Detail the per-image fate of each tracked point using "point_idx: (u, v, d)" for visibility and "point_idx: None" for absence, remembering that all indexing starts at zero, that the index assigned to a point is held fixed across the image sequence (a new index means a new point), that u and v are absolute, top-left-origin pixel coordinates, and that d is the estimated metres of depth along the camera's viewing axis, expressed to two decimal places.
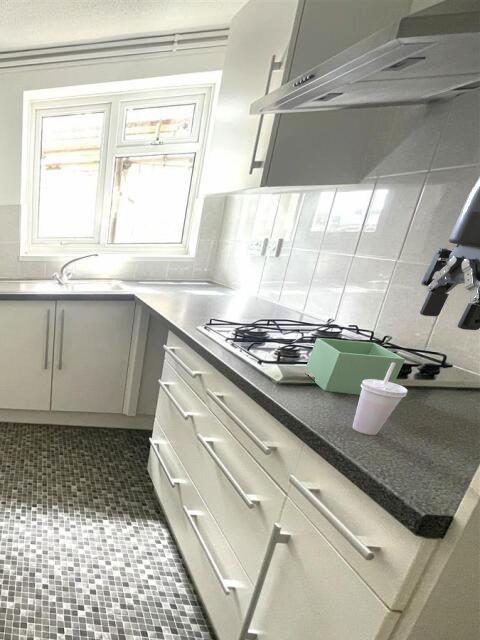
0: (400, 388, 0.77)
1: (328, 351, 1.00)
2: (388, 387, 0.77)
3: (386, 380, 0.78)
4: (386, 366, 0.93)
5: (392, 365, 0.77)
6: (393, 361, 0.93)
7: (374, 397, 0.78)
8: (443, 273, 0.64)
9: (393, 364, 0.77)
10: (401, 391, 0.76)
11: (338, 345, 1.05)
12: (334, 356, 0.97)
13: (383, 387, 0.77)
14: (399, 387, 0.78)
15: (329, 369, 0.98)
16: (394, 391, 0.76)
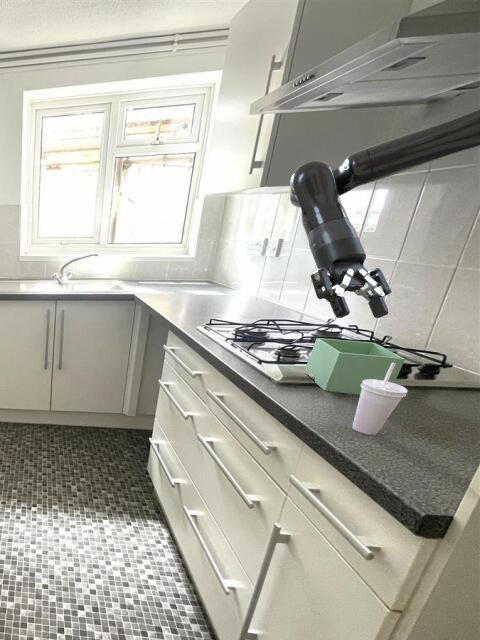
0: (400, 388, 0.77)
1: (328, 351, 1.00)
2: (388, 387, 0.77)
3: (386, 380, 0.78)
4: (386, 366, 0.93)
5: (392, 365, 0.77)
6: (393, 361, 0.93)
7: (374, 397, 0.78)
8: None
9: (393, 364, 0.77)
10: (401, 391, 0.76)
11: (338, 345, 1.05)
12: (334, 356, 0.97)
13: (383, 387, 0.77)
14: (399, 387, 0.78)
15: (329, 369, 0.98)
16: (394, 391, 0.76)
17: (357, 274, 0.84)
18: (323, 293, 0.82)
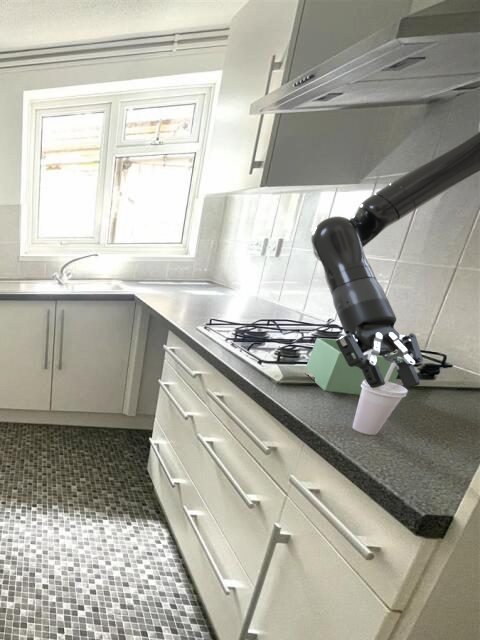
0: (400, 388, 0.77)
1: (328, 351, 1.00)
2: (388, 387, 0.77)
3: (386, 380, 0.78)
4: (386, 366, 0.93)
5: (392, 365, 0.77)
6: None
7: (374, 397, 0.77)
8: None
9: (393, 364, 0.77)
10: (401, 391, 0.76)
11: None
12: (334, 356, 0.97)
13: (383, 387, 0.77)
14: (399, 387, 0.78)
15: (329, 369, 0.98)
16: (394, 391, 0.76)
17: (386, 337, 0.79)
18: (354, 361, 0.78)
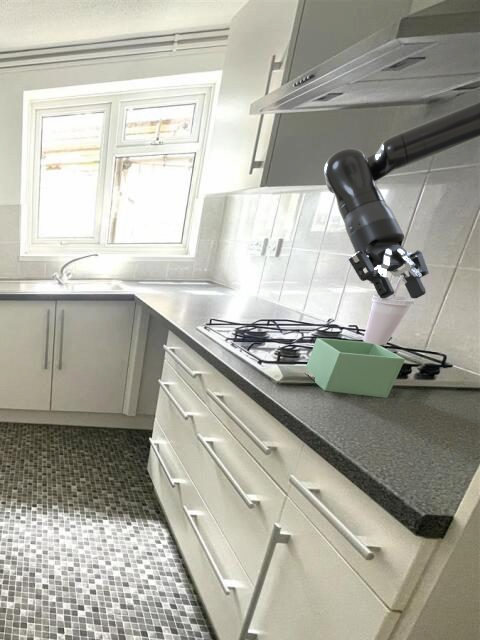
0: (408, 299, 0.84)
1: (328, 351, 1.00)
2: (397, 298, 0.84)
3: (395, 292, 0.85)
4: (386, 366, 0.93)
5: (400, 277, 0.84)
6: (393, 361, 0.93)
7: (384, 307, 0.85)
8: (390, 270, 0.88)
9: (401, 276, 0.84)
10: (409, 300, 0.83)
11: (338, 345, 1.05)
12: (334, 356, 0.97)
13: (392, 298, 0.84)
14: (407, 298, 0.85)
15: (329, 369, 0.98)
16: (402, 300, 0.83)
17: (395, 253, 0.86)
18: (366, 274, 0.85)
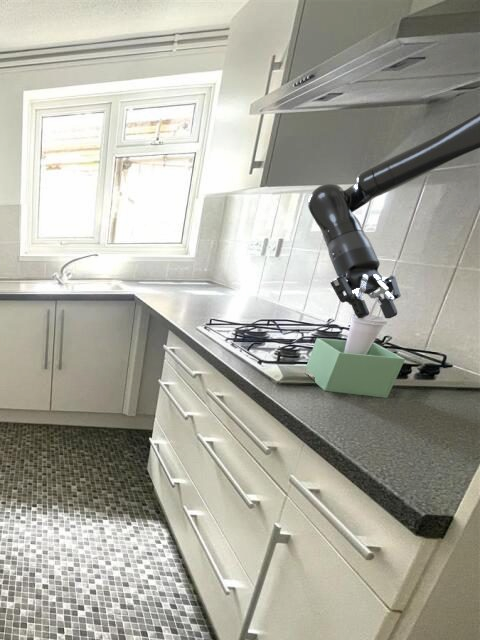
0: (382, 319, 0.95)
1: (328, 351, 1.00)
2: (372, 318, 0.95)
3: (371, 313, 0.96)
4: (386, 366, 0.93)
5: (375, 300, 0.95)
6: (393, 361, 0.93)
7: (361, 326, 0.95)
8: None
9: (376, 299, 0.95)
10: (382, 320, 0.94)
11: (338, 345, 1.05)
12: (334, 356, 0.97)
13: (368, 318, 0.95)
14: (381, 318, 0.96)
15: (329, 369, 0.98)
16: (377, 320, 0.94)
17: (371, 278, 0.96)
18: (345, 297, 0.95)
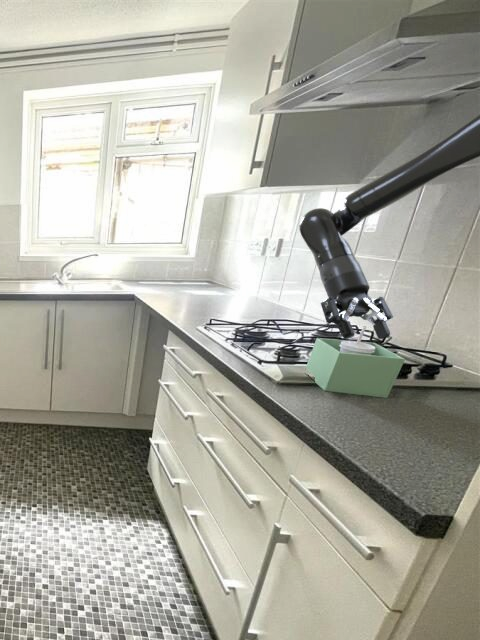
0: (370, 346, 0.98)
1: (328, 351, 1.00)
2: (360, 345, 0.98)
3: (359, 340, 0.99)
4: (386, 366, 0.93)
5: (363, 328, 0.97)
6: (393, 361, 0.93)
7: None
8: None
9: (364, 327, 0.97)
10: (370, 348, 0.97)
11: (338, 345, 1.05)
12: (334, 356, 0.97)
13: (356, 345, 0.98)
14: (369, 345, 0.98)
15: (329, 369, 0.98)
16: (365, 348, 0.97)
17: (361, 302, 0.99)
18: (331, 318, 0.98)
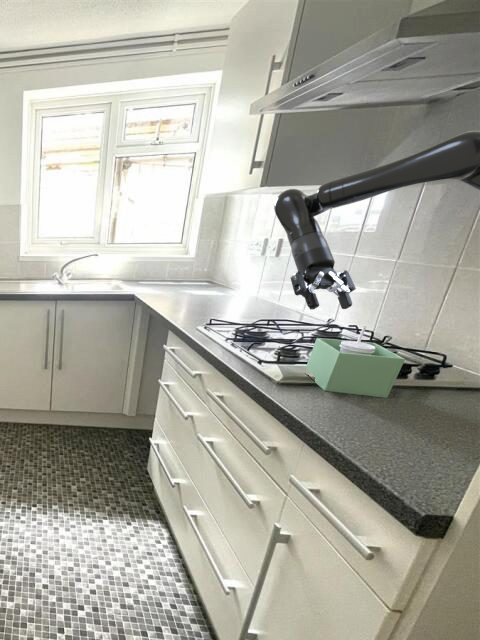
0: (370, 346, 0.98)
1: (328, 351, 1.00)
2: (360, 345, 0.98)
3: (359, 340, 0.99)
4: (386, 366, 0.93)
5: (363, 328, 0.97)
6: (393, 361, 0.93)
7: None
8: None
9: (364, 327, 0.97)
10: (370, 348, 0.97)
11: (338, 345, 1.05)
12: (334, 356, 0.97)
13: (356, 345, 0.98)
14: (369, 345, 0.98)
15: (329, 369, 0.98)
16: (365, 348, 0.97)
17: (327, 275, 1.08)
18: (299, 290, 1.07)
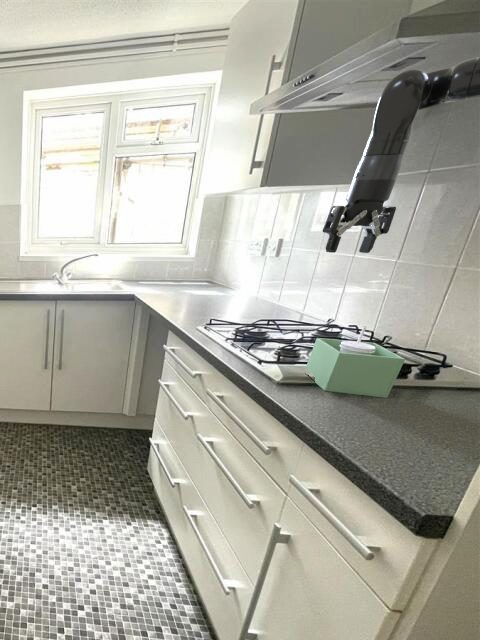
0: (370, 346, 0.98)
1: (328, 351, 1.00)
2: (360, 345, 0.98)
3: (359, 340, 0.99)
4: (386, 366, 0.93)
5: (363, 328, 0.97)
6: (393, 361, 0.93)
7: None
8: None
9: (364, 327, 0.97)
10: (370, 348, 0.97)
11: (338, 345, 1.05)
12: (334, 356, 0.97)
13: (356, 345, 0.98)
14: (369, 345, 0.98)
15: (329, 369, 0.98)
16: (365, 348, 0.97)
17: (369, 213, 0.97)
18: (327, 230, 0.99)
